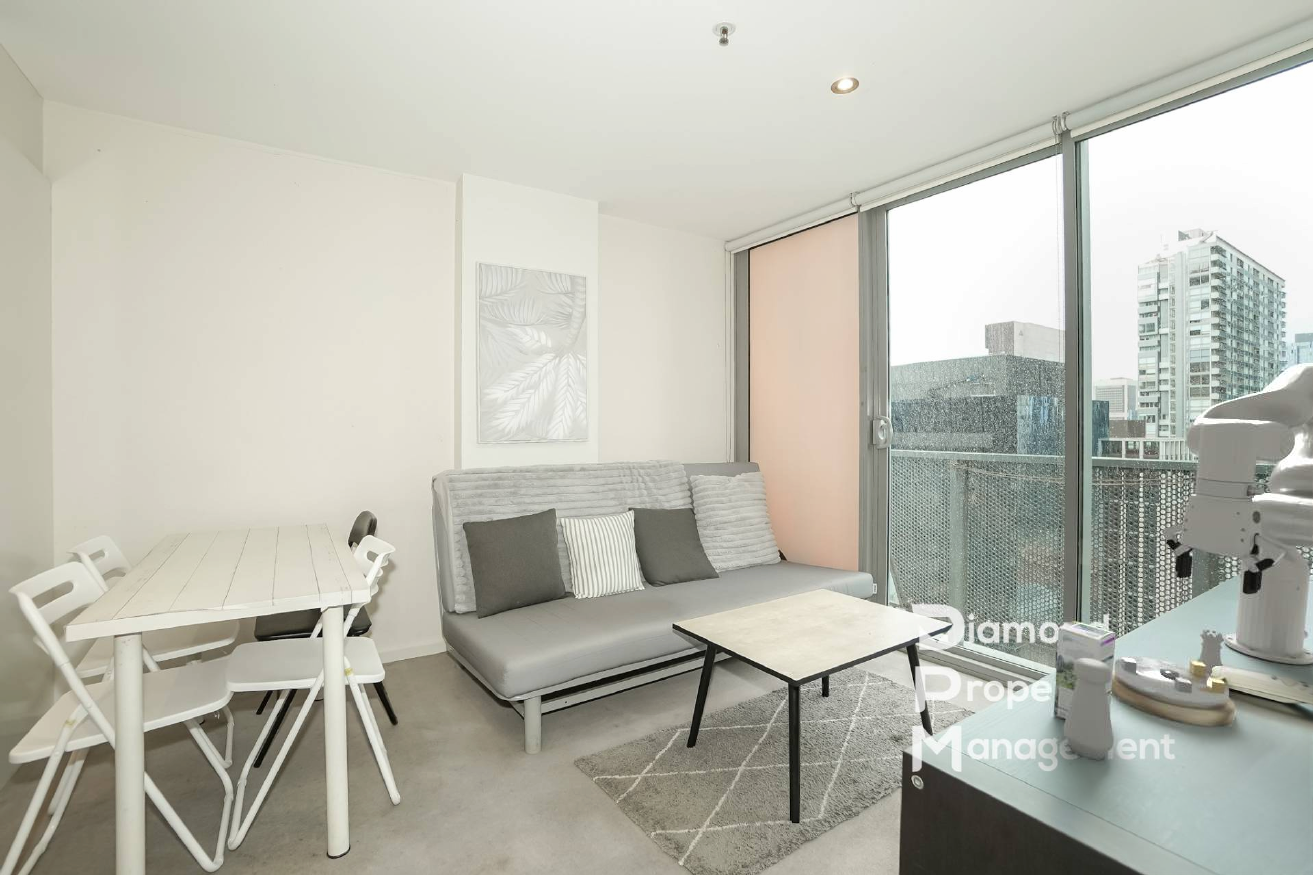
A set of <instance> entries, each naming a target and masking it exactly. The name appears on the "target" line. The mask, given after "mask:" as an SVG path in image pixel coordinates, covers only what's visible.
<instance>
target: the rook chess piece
mask: <svg viewBox="0 0 1313 875" xmlns="http://www.w3.org/2000/svg"><path fill="white" fill-rule="evenodd" d="M1199 636H1200V637H1201V639H1202V642H1201V643H1200V645H1201V646H1202V647H1201V652H1200V655H1199V657H1198V658H1197V660H1195V662H1201V663H1203V664H1204V665H1205V666H1207V667H1206V673H1207V674H1209V675H1211V673H1212V668H1213V667H1215V666H1223V667H1224V664H1223V663H1222V659H1221V650H1222V649H1223V647H1222V646H1221V644H1222V643H1223V642H1224V639H1225V638H1224V637H1223V633H1221V632H1219V631H1218V632H1217V631H1216V630H1212V632H1211V630H1210V629H1203V630H1202V633H1200V634H1199Z"/></svg>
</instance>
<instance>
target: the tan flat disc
mask: <svg viewBox="0 0 1313 875" xmlns="http://www.w3.org/2000/svg"><path fill="white" fill-rule="evenodd" d="M1114 669H1115V668H1113V675H1112V688H1111V692H1112V693H1113V694H1114V695H1115V696H1116V698H1117V697H1118V698H1119V699H1118V698H1117V699H1118V700H1119V701H1122V702H1123V703H1125V704H1126V705H1128V706H1130V707H1133V708H1135V709H1136V710H1139V711H1142V712H1143V713H1147V714H1149V715H1152V716H1155V717H1158V718H1161V719H1165V720H1169V721H1173V722H1177V723H1181V724H1187V725H1192V726H1200V727H1223V725H1224V726H1227V725H1230V724H1232V721H1233V722H1234V720H1235V711H1236V704H1235V702H1234V701H1233V700H1232V698H1231V697H1229V698H1228V705H1227V706H1226V707H1224V708H1222V709H1216V710H1201V709H1192V708H1186V707H1180V706H1176V705H1171V704H1168V703H1164V702H1160V701H1157V700H1154V699H1151V698H1148V697H1146V696H1143V695H1141V694H1138V693H1136V692H1134V691H1132V690H1130V689H1128V688H1127V687H1125V686H1123V685H1122V684H1121V683H1119V682H1118V681H1117V680H1116V678H1115V677H1114ZM1112 693H1111V694H1112ZM1113 694H1112V695H1113ZM1114 695H1113V696H1114ZM1115 696H1114V697H1115ZM1233 719H1234V720H1233ZM1229 723H1230V724H1229Z"/></svg>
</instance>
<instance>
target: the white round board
mask: <svg viewBox="0 0 1313 875" xmlns="http://www.w3.org/2000/svg"><path fill="white" fill-rule="evenodd" d="M1206 667H1207V666H1205V665H1204V664H1203V663H1201V662H1196V660H1195V661H1193V660H1190V662H1189V666H1188V665H1184V664H1181V663H1178V662H1177V663H1176V662H1173V661H1169V660H1164V659H1159V658H1154V657H1153V658H1152V657H1145V656H1144V657H1142V656H1126V657H1123V656H1122V657H1121V658H1118V659H1116V660H1114V668H1113V669H1114V677H1115V678H1116V680H1117V681H1118V682H1119V683H1121V684H1122V685H1123V686H1125V687H1127V688H1128V689H1130V690H1132V691H1134V692H1136V693H1138V694H1141V695H1143V696H1146V697H1148V698H1151V699H1154V700H1157V701H1160V702H1164V703H1168V704H1171V705H1176V706H1180V707H1186V708H1192V709H1201V710H1216V709H1222V708H1224V707H1226V706H1227V705H1228V698H1230V697H1229V696H1230V689H1229V687H1228V685H1227V684H1226V683H1225V682H1224V680H1221V679H1217V678H1215V677H1213V676H1211V675H1209V674H1207V673H1206Z"/></svg>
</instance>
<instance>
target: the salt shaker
mask: <svg viewBox="0 0 1313 875" xmlns="http://www.w3.org/2000/svg"><path fill="white" fill-rule="evenodd" d="M1074 674H1075V675H1076V676H1077V677H1078V679H1077V682H1076V686H1075V689H1074V693H1073V696H1072V700H1071V703H1070V707H1069V710H1068V714H1067V717H1066V720H1064V725H1063V734H1064V737H1065V738H1066V742H1068V745H1069V747H1070V749H1071V751H1072V753H1075V754H1077V755H1079V756H1081V757H1083V758H1085V759H1091V760H1099V761H1101V760H1102V759H1103V758H1104V757H1105V756H1106V755H1107V754H1108V753H1109V752H1110V751H1111V750H1112V748H1113V747H1114V742H1115V740H1114V734H1113V733H1114V732H1113V727H1112V720H1111V711H1110V712H1109V705H1108V698H1107V691H1106V683H1109V682H1110V680H1111V669H1110V668H1109V666H1108V665H1106V664H1105V663H1103V662H1101V661H1098V660H1095V659H1090V658H1080V659H1077V660H1076V661H1075V663H1074Z"/></svg>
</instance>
